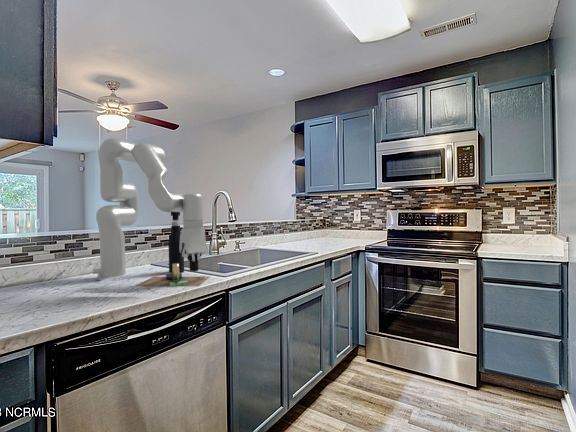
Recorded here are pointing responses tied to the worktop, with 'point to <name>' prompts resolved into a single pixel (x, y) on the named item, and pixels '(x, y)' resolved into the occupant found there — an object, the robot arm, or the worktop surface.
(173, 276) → the tuning dial
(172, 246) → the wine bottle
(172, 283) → the board
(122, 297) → the worktop surface
